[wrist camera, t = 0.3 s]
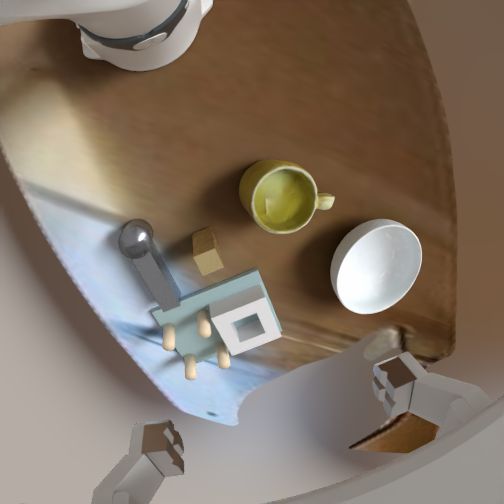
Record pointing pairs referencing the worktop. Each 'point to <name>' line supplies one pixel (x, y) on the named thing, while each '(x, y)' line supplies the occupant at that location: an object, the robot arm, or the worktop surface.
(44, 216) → the worktop surface
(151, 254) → the grey lever handle
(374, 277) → the cereal bowl
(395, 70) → the worktop surface
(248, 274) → the jig plate
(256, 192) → the mug
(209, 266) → the wooden bar
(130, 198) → the worktop surface
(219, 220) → the worktop surface
